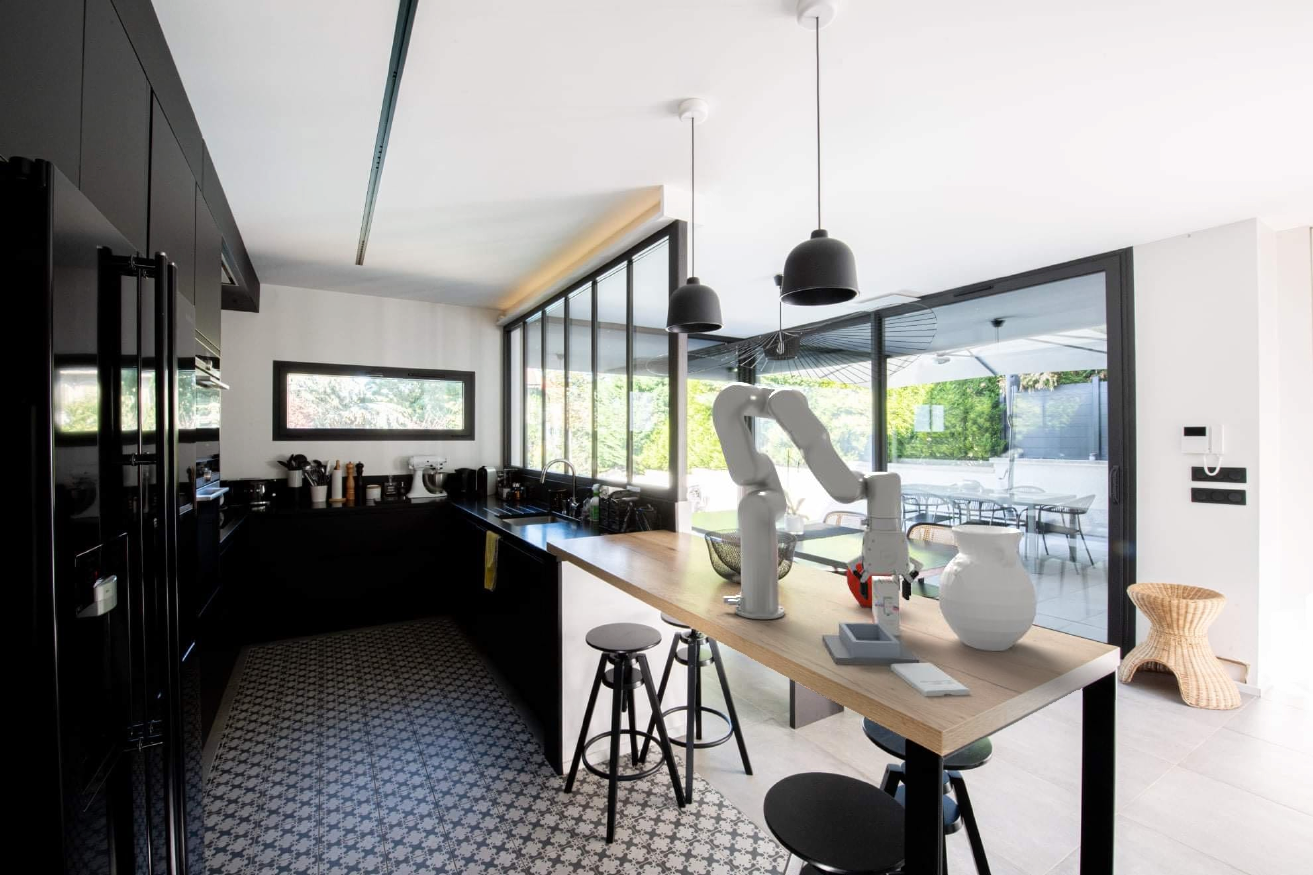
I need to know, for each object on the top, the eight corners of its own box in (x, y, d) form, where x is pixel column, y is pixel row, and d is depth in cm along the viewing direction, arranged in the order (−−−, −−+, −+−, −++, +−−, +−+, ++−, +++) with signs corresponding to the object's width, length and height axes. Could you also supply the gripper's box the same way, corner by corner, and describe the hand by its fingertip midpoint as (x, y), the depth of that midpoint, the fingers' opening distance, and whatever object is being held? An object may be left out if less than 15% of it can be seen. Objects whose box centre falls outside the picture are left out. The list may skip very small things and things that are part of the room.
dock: (835, 663, 117) (835, 642, 117) (822, 640, 131) (822, 621, 131) (919, 665, 115) (919, 644, 116) (896, 641, 129) (896, 622, 129)
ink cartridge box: (871, 623, 143) (870, 562, 143) (893, 625, 142) (892, 563, 142) (877, 635, 134) (876, 570, 134) (900, 636, 133) (899, 571, 133)
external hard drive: (931, 670, 115) (970, 697, 102) (890, 672, 114) (925, 699, 102) (931, 662, 115) (970, 688, 102) (890, 663, 114) (924, 689, 102)
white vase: (1058, 657, 120) (1057, 533, 120) (971, 660, 118) (969, 535, 119) (999, 628, 138) (997, 521, 138) (923, 630, 137) (921, 523, 137)
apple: (900, 611, 153) (900, 559, 153) (855, 611, 153) (854, 560, 153) (883, 599, 164) (882, 551, 165) (841, 599, 165) (840, 551, 165)
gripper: (850, 526, 135) (851, 602, 135) (928, 526, 134) (929, 603, 133) (842, 522, 143) (843, 594, 142) (916, 522, 141) (918, 595, 141)
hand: (885, 598), depth 138 cm, fingers open, 8 cm apart
